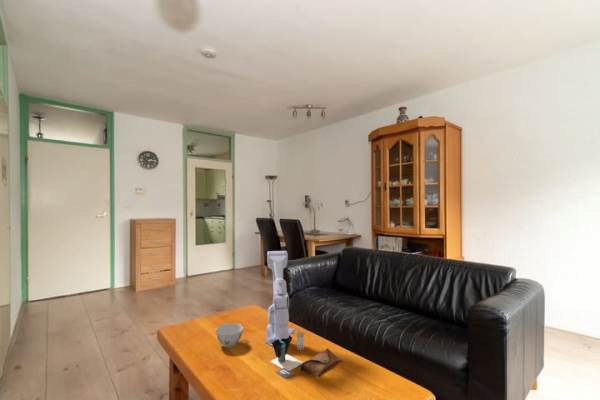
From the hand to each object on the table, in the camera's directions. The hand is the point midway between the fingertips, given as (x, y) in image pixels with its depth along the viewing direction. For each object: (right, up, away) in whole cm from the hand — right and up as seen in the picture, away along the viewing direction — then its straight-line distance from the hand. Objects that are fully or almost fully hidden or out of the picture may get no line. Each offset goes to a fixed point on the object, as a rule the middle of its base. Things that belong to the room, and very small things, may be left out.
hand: (281, 355), depth 126 cm
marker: (0, -2, 0) cm, 2 cm away
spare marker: (+8, -3, +11) cm, 14 cm away
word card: (+2, -3, -9) cm, 10 cm away
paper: (+2, -3, -1) cm, 4 cm away
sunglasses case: (+17, -3, -3) cm, 18 cm away
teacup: (-25, -3, +16) cm, 30 cm away
